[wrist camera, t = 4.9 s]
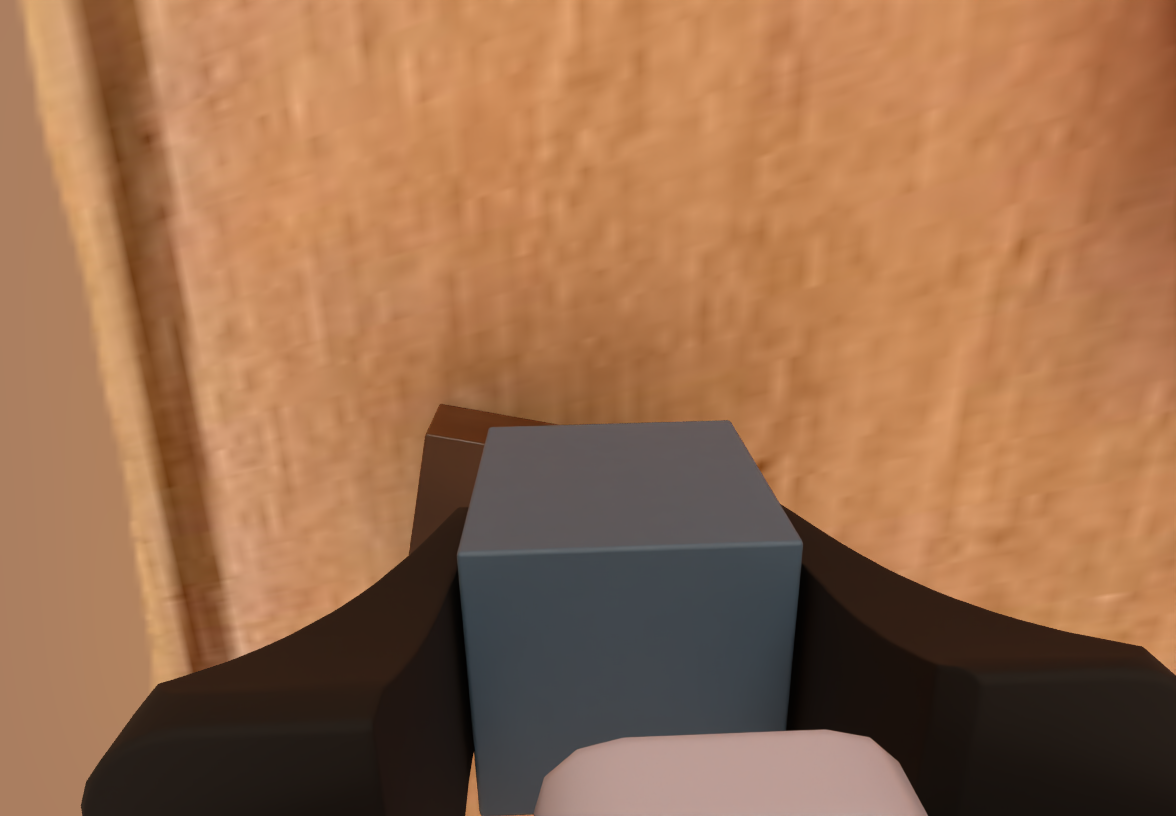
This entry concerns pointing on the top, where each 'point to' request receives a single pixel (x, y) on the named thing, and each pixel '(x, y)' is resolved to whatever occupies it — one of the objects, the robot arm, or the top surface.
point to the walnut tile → (452, 464)
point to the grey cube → (620, 595)
